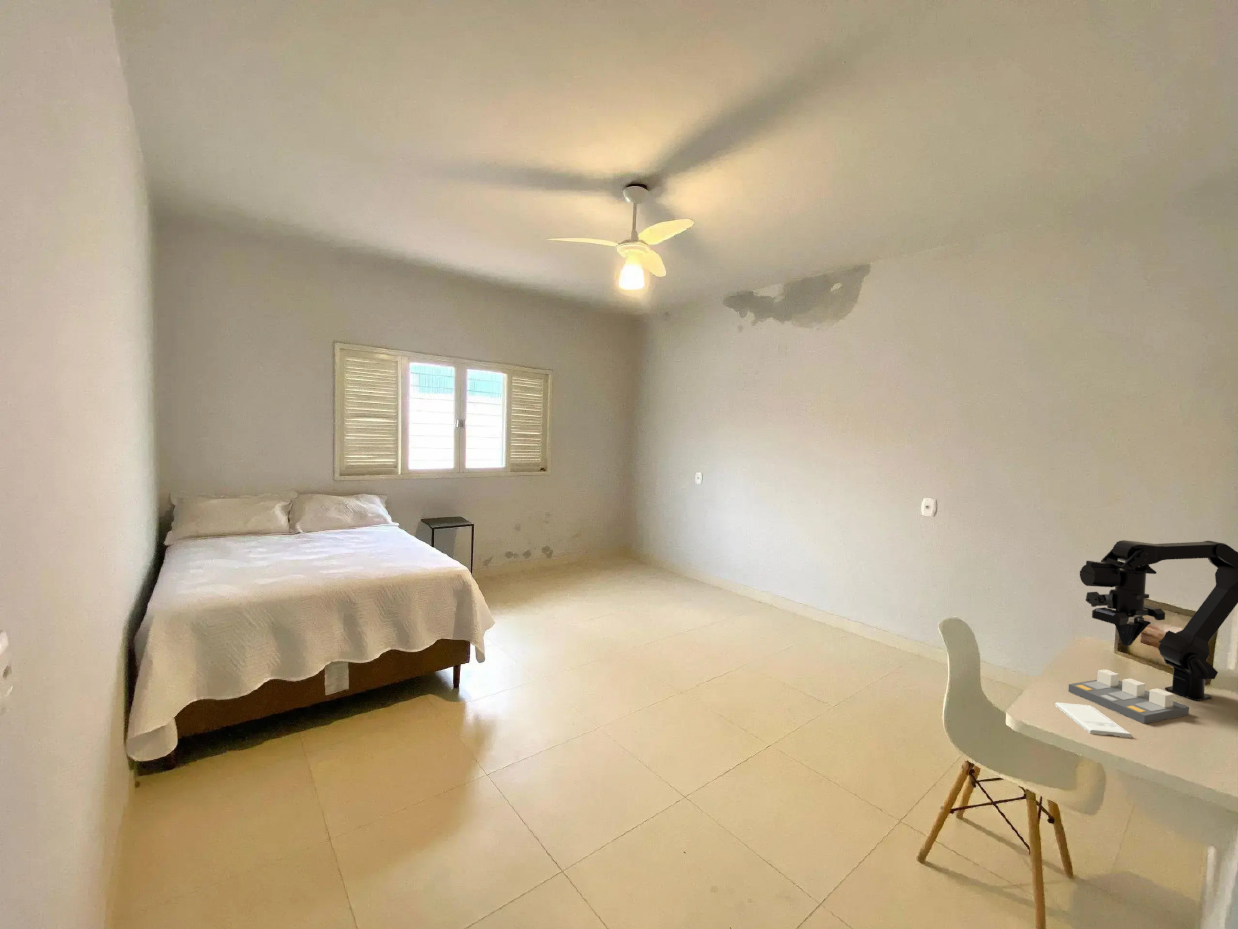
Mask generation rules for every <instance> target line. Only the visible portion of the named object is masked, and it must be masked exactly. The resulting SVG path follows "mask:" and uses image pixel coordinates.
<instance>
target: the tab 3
mask: <svg viewBox="0 0 1238 929" xmlns="http://www.w3.org/2000/svg"><path fill="white" fill-rule="evenodd" d="M1149 692H1150V693H1149V702H1151V703H1154V704H1157V705H1159V706H1162V707H1164V708H1165V707H1171V706H1173V701H1174V694H1175V693H1173V692H1170V691H1167V690H1165V689H1160V688H1153V689H1149Z"/></svg>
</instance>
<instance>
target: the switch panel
mask: <svg viewBox="0 0 1238 929" xmlns="http://www.w3.org/2000/svg"><path fill="white" fill-rule="evenodd" d="M1122 682H1123V680H1122V681H1121V680H1119V682H1118V685H1116V686H1108V685H1105V684H1103V683H1100V682H1098V681H1097V679H1093V680H1092V679H1091V680H1086V681H1081V682H1074V683H1070V684H1069V683H1068V692H1069V693H1071V694H1073V693H1074V695H1075V696H1078V695H1079V697H1080V696H1081V697H1080V698H1083V699H1085V700H1087V699H1088V700H1087V701H1090V702H1092V703H1094V702H1095V703H1094V704H1097V705H1099V706H1101V705H1102V707H1104V708H1106V707H1107V709H1108V708H1109V709H1108V710H1111V711H1113V712H1115V711H1116V712H1115V713H1117V714H1119V715H1123V716H1125V717H1128V718H1130V719H1132V720H1134V721H1137V722H1139V723H1141V724H1149V723H1155V722H1158V721H1165V720H1170V719H1174V718H1175V719H1176V718H1180V717H1184V716H1189V713H1190V706H1188V705H1185V704H1183V703H1180V702H1177V701H1175V700H1173V706H1171V707H1165V708H1164V707H1162V706H1159V705H1157V704H1154V703H1151V702H1149V693H1150V691H1147V690H1146V689H1145V695H1143V696H1137V697H1136V696H1133V695H1131V694H1128V693H1126V692H1123V691H1122Z"/></svg>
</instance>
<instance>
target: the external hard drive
mask: <svg viewBox="0 0 1238 929" xmlns="http://www.w3.org/2000/svg"><path fill="white" fill-rule="evenodd" d="M1054 706H1055V707H1056V708H1057V707H1058V708H1059V709H1060V711H1061V712H1062V711H1063V712H1064V714H1065V713H1066V714H1065V715H1066V716H1067V717H1069V719H1071V718H1072V719H1073V720H1072V719H1071V720H1072V721H1073V722H1075V723H1076V724H1077V725H1078V726H1079V727H1080V728H1082V727H1083V728H1082V729H1084V730H1085V731H1086V730H1087V731H1088V732H1087V731H1086V732H1087V733H1089V734H1092V735H1099V736H1100V735H1101V736H1113V737H1117V736H1120V737H1119V738H1127V737H1129V739H1132V737H1133V735H1132V733H1130V732H1129V731H1127V730H1126V729H1125V728H1123V727H1122V726H1121V725H1119V724H1118V723H1116V722H1115V721H1114V720H1113V719H1111V718H1110V717H1108V716H1107V715H1105V714H1104V713H1102V711H1100V710H1098V709H1097V708H1095V707H1094V706H1093V705H1089V704H1078V703H1070V702H1069V703H1068V702H1067V703H1066V702H1055V704H1054ZM1058 708H1057V709H1058ZM1059 709H1058V710H1059ZM1063 712H1062V713H1063Z"/></svg>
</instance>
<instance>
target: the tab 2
mask: <svg viewBox="0 0 1238 929" xmlns="http://www.w3.org/2000/svg"><path fill="white" fill-rule="evenodd" d="M1145 690H1146V683H1144V682H1141V681H1139V680H1136V679H1133V678H1125V679H1122V691H1123V692H1126V693H1128V694H1131V695H1133V696H1136V697H1137V696H1143V695H1145Z"/></svg>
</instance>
